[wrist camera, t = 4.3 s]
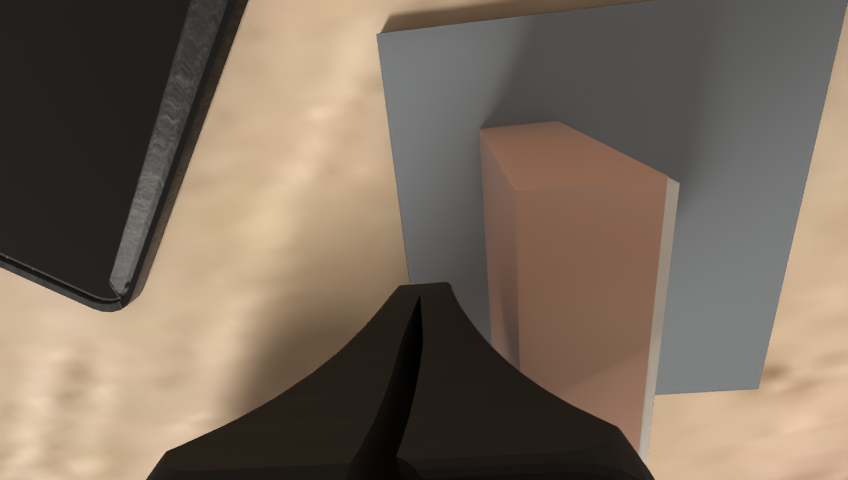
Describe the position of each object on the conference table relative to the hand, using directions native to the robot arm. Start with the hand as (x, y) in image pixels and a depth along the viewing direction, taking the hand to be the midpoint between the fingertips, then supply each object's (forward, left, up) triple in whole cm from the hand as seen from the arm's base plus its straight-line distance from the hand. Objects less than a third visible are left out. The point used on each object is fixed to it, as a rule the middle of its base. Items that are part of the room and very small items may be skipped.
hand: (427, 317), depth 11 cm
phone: (+6, +11, -6) cm, 14 cm away
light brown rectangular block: (0, -3, -4) cm, 5 cm away
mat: (0, -6, -5) cm, 7 cm away
